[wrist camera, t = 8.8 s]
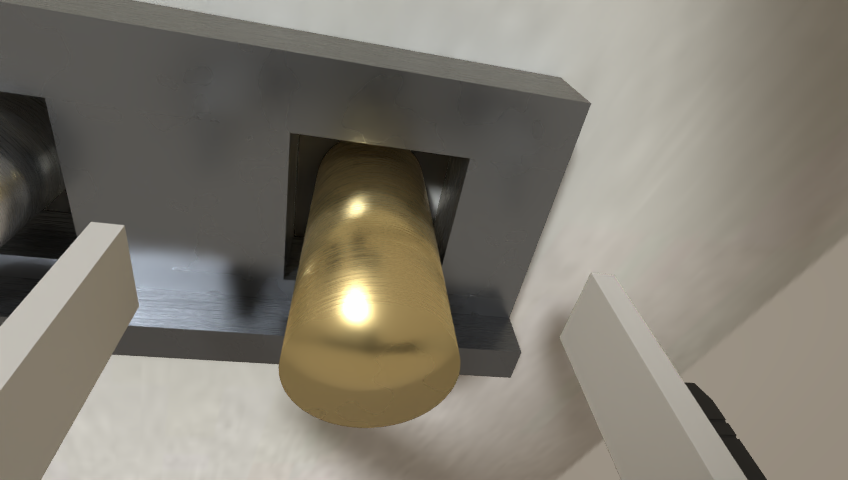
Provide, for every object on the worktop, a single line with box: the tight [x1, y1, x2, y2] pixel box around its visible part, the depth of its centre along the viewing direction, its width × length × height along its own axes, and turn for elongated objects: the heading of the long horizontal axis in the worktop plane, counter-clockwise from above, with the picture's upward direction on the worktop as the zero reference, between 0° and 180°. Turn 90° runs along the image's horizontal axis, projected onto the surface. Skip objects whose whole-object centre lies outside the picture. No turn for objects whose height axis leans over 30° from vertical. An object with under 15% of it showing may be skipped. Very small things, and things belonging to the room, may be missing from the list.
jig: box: [0, 0, 591, 378], centre depth 17 cm, size 11×26×5 cm, turn 79°
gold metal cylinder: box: [279, 140, 460, 428], centre depth 16 cm, size 4×4×10 cm
